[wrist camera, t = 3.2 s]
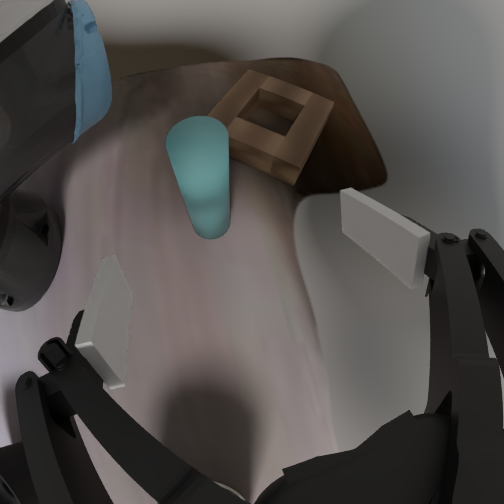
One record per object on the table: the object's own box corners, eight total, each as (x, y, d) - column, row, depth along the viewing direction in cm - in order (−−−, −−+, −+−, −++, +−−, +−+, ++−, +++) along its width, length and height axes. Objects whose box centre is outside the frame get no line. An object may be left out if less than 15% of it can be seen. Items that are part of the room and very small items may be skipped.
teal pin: (185, 228, 30) (153, 150, 16) (204, 198, 31) (188, 109, 18) (218, 245, 30) (207, 173, 16) (236, 213, 31) (239, 128, 17)
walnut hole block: (201, 146, 33) (198, 125, 29) (247, 89, 36) (248, 69, 32) (293, 186, 32) (300, 168, 28) (326, 121, 35) (334, 102, 31)
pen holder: (15, 425, 21) (-34, 438, 12) (70, 467, 21) (26, 497, 11) (12, 470, 19) (-29, 488, 9) (63, 509, 18) (28, 539, 9)
